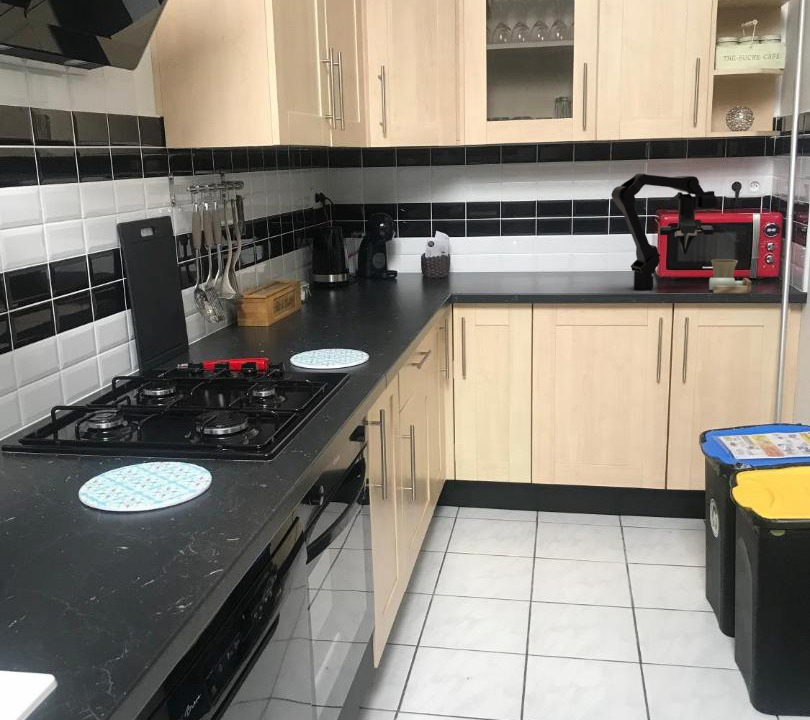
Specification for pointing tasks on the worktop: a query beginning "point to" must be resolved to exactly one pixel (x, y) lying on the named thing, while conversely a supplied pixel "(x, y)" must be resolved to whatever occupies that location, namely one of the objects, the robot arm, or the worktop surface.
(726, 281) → the bottle
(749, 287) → the cradle
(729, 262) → the flower pot
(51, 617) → the worktop surface
